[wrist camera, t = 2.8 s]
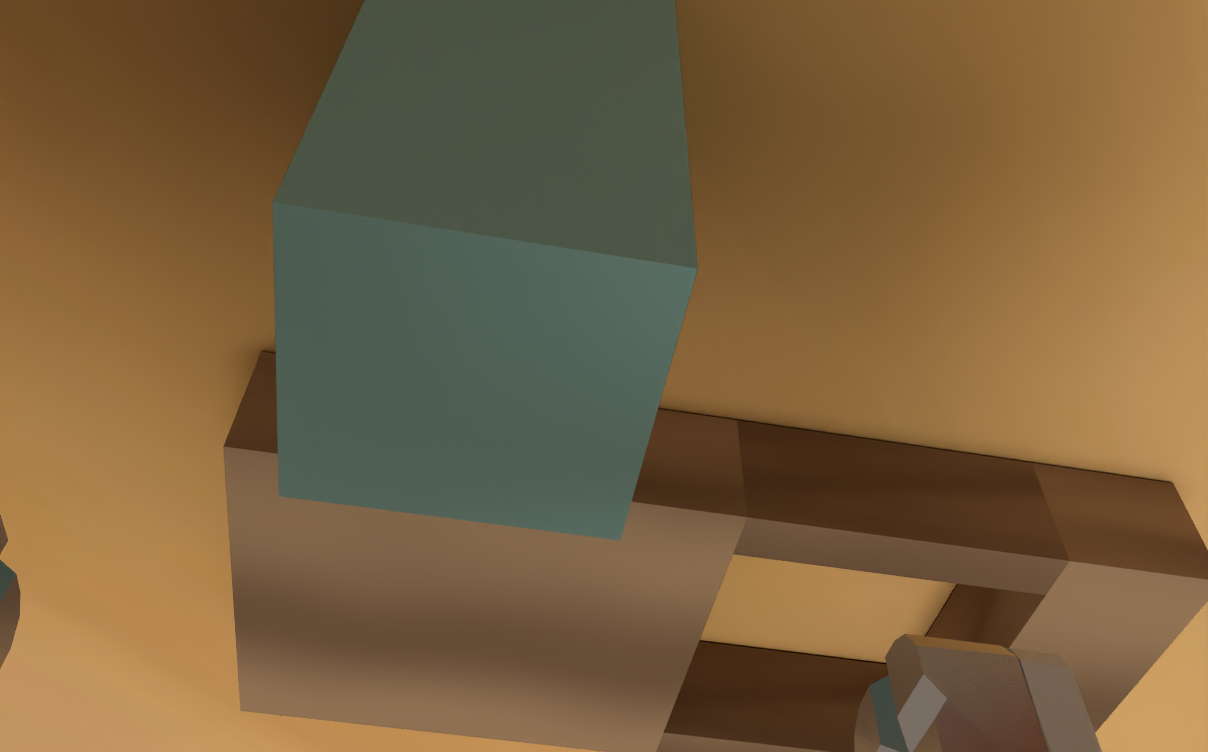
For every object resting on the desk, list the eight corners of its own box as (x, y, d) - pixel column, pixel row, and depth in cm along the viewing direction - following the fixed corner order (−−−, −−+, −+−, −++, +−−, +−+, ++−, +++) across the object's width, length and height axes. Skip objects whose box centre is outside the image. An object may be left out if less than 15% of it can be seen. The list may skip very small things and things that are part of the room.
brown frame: (261, 351, 20) (223, 446, 18) (1173, 483, 22) (1223, 581, 20) (269, 615, 26) (240, 710, 24) (1009, 704, 27) (1037, 799, 25)
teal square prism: (393, -64, 15) (272, 201, 10) (673, -13, 16) (697, 269, 11) (381, 180, 18) (278, 495, 13) (621, 219, 18) (620, 541, 13)
